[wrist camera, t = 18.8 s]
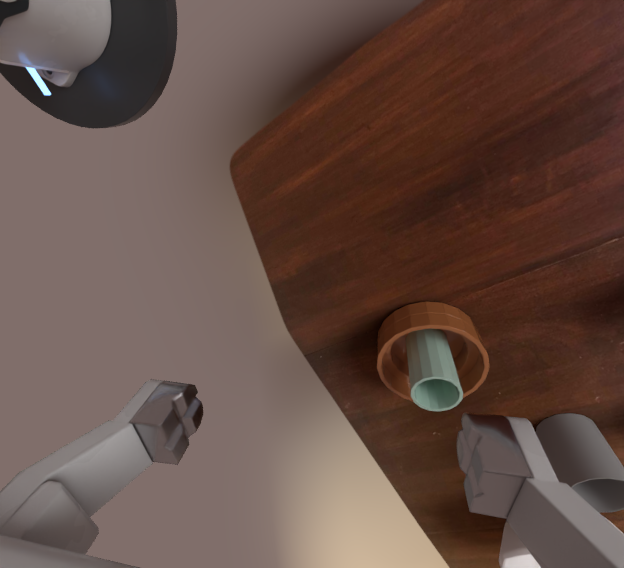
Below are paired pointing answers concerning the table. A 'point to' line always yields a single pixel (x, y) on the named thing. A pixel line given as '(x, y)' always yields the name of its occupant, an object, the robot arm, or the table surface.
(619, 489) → the cup
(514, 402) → the table surface
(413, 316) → the brown bowl
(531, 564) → the bowl
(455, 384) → the tumbler
